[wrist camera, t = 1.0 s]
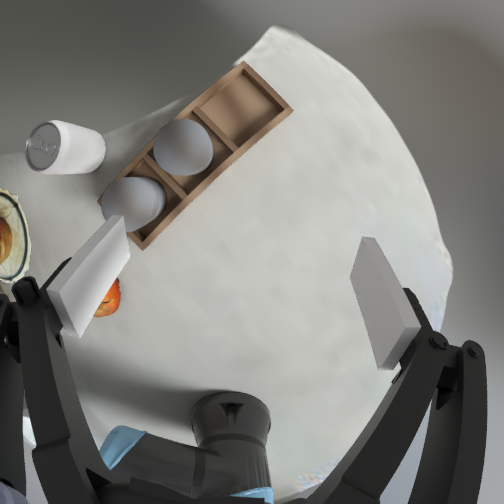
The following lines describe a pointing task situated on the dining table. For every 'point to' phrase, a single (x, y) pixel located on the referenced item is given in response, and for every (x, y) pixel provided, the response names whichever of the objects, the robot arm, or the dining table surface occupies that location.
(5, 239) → the decorative vase
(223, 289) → the dining table surface
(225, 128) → the socket rail
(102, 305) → the tomato
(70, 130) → the can
